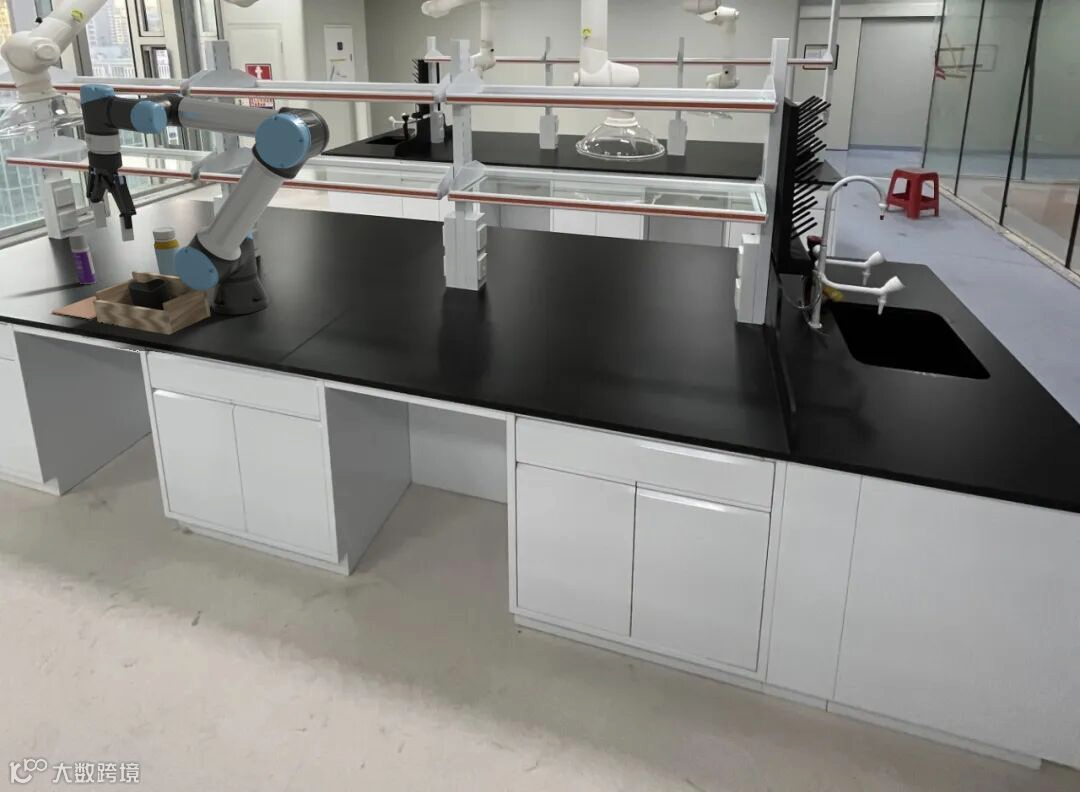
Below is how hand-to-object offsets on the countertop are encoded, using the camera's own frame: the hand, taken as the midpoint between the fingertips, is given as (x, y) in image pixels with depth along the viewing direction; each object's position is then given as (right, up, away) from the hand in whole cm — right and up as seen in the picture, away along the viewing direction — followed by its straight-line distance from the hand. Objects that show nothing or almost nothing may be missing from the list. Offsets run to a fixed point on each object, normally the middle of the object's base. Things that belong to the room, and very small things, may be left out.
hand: (114, 233), depth 210 cm
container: (-27, -8, +37) cm, 46 cm away
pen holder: (+6, -22, +9) cm, 24 cm away
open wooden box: (+6, -21, +9) cm, 24 cm away
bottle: (-4, -5, +43) cm, 43 cm away
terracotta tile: (-14, -18, +16) cm, 28 cm away
